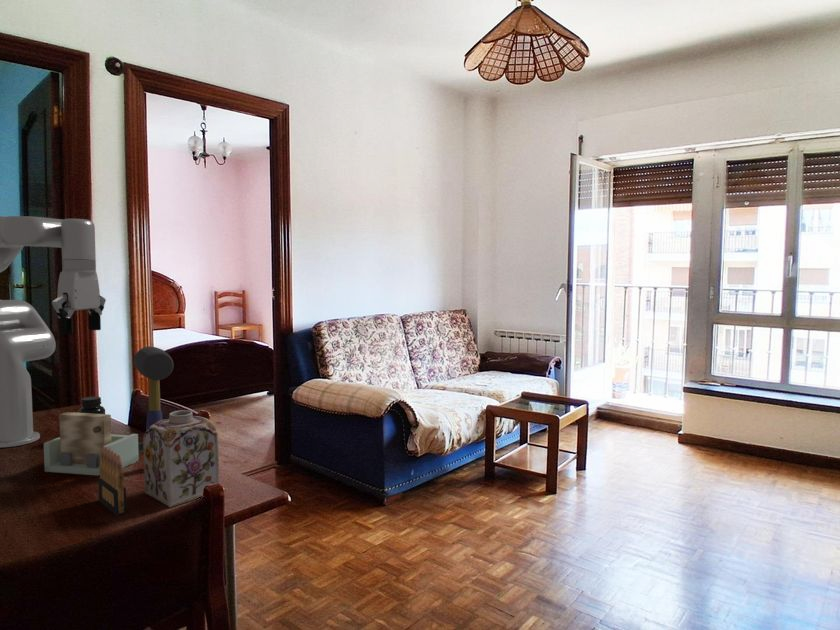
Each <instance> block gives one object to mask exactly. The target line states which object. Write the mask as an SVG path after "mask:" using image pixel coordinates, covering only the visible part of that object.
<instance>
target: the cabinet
mask: <svg viewBox="0 0 840 630" xmlns="http://www.w3.org/2000/svg"><path fill="white" fill-rule="evenodd" d="M111 441H112V443H110V444H108V445H105V447H107V448H108V449H110V450H111V451H113V452H114V454H115V453H116V454H117V456H118V455H120V457H121V460H122V468H124V469H125V467H126V466H128V465H130V464H131V465H133V464H135V463H137V462H139V461H140V460H139V459H140V457H139V456H140V455H139V454H140V453H138V442H139V433H131V434H129V435H127V434H113V433H111ZM43 460H44V461H43V462H44V463H43V464H44V472H45V473H48V472H49V473H59V474H60V473H61V474H74V475H86V476H87V475H89V476H99V475H100V468H99V467H100V466H99V465H98V455H96V454H88V455H87V465H86V464H72V453H67V452H62V453H61V449H60V436H59V437H56V438H54V439H50V440H48V441H46V442H44V443H43ZM138 460H139V461H138ZM136 461H137V462H136ZM131 465H130V466H131ZM128 467H129V466H128ZM126 468H127V467H126Z"/></svg>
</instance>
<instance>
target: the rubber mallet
mask: <svg viewBox="0 0 840 630" xmlns="http://www.w3.org/2000/svg"><path fill="white" fill-rule="evenodd" d="M133 363H134V366H135V368H136V370H137V371H138V372H139V374H141V376H143V377H144V378H146V379H148V411H147V413H146V422H145V423H146V426H145V427H146V431H147V430H148V429H149V428H150V426H152V425H153V424H154V423H156V422H157V421H160V420H164V419H163V418H164V417H163V411H162V409H161V408H162V407H161V388H160V387H161V385H160V383H161V382H160V381H162V380H164V379H166V378H168V377H169V376H170V375H171V374H172V372H173V370H174V360H173V359H172V357H171V355H170V354H169V353H167V352H166V350H164V349H161V348H159V347H156V346H145V347H143V348H140V349H139V350H138V351H137V352H136V353H135V355H134V358H133ZM146 431H145V432H146Z"/></svg>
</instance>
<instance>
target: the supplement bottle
mask: <svg viewBox="0 0 840 630" xmlns="http://www.w3.org/2000/svg"><path fill="white" fill-rule="evenodd" d="M80 404H81V405H80V406H81V408H79V409H78V410H77V413H92V414H106V409H105V407H104V406H102V397H100V396H86V397H83V398H81V403H80Z"/></svg>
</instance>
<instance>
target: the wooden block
mask: <svg viewBox="0 0 840 630" xmlns="http://www.w3.org/2000/svg"><path fill="white" fill-rule="evenodd" d="M58 416H59V418H58V420H59V437H60V449H61V453H62V452H67V453H72V464H86V465H87V455H88V454H96V455H98V465H99V466H100V454H101V448H102V446H103V445H104V446H105V445H108V444H110V443H112V441H111V434H112V416H111V414H109V413H108V414H106V413H105V414H92V413H78V412H74V411H73V412H70V411H66V412H63V413H60V414H59V415H58Z"/></svg>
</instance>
